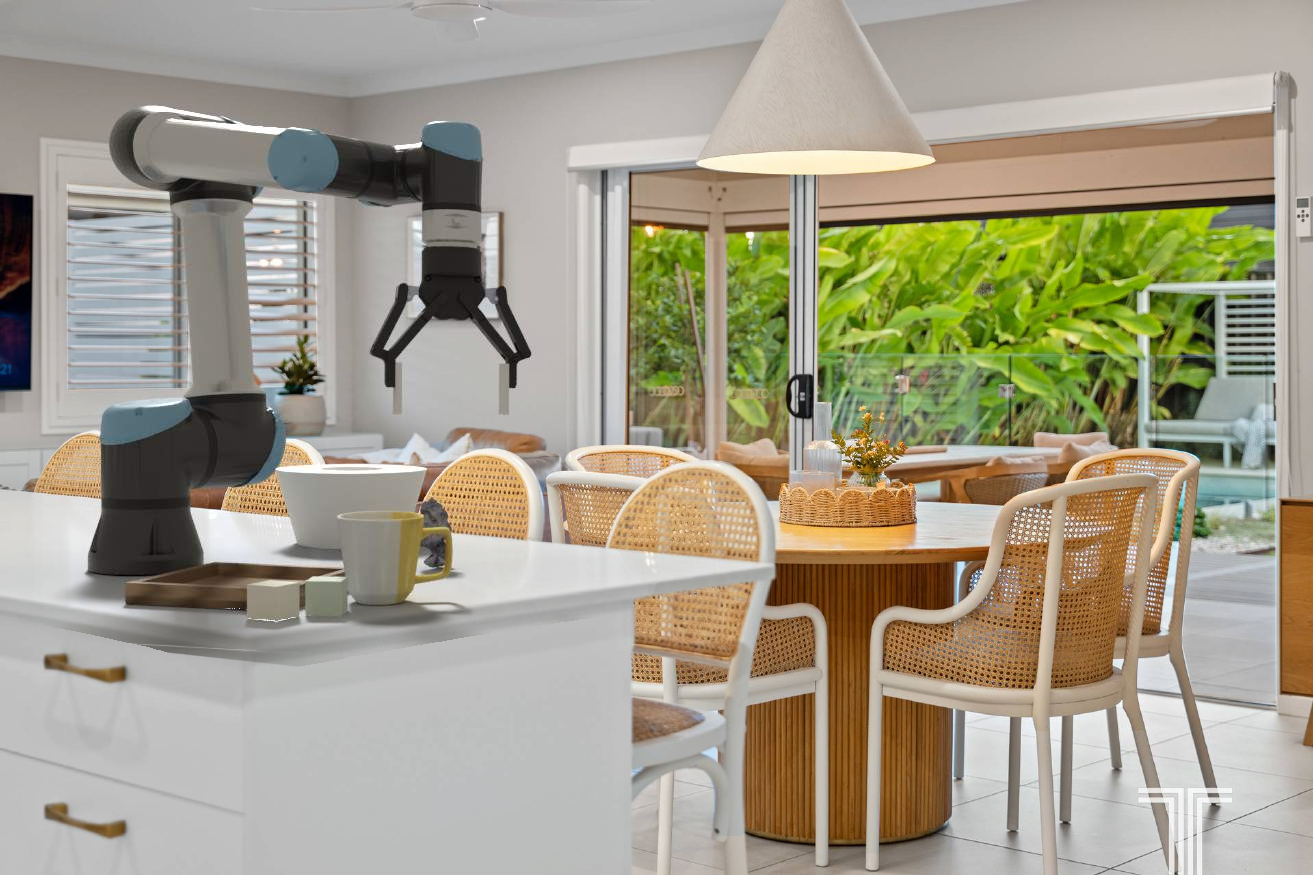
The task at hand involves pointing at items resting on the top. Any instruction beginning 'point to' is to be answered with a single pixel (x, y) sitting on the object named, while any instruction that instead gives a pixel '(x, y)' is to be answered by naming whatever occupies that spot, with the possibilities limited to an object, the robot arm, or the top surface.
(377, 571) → the mug
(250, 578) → the tray
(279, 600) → the cream block
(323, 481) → the bowl
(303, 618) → the top surface
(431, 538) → the grey stone bust
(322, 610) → the sage block
